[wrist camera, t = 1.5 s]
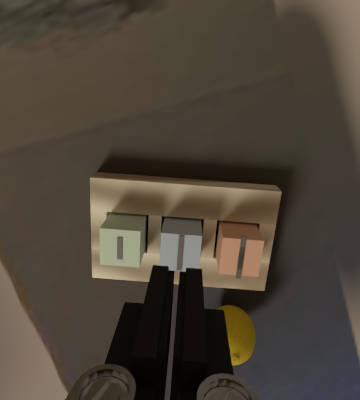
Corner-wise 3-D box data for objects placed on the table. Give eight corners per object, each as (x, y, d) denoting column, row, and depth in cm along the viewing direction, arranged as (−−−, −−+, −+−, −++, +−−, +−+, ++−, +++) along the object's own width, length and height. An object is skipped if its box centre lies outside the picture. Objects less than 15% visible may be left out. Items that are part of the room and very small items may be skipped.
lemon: (245, 289, 39) (258, 335, 32) (251, 325, 41) (264, 377, 33) (201, 295, 40) (203, 342, 32) (209, 331, 42) (212, 383, 34)
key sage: (110, 212, 35) (99, 228, 31) (146, 215, 35) (140, 231, 31) (110, 245, 36) (99, 265, 32) (145, 247, 36) (139, 268, 32)
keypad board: (96, 172, 35) (89, 177, 33) (275, 185, 35) (281, 191, 33) (98, 266, 39) (92, 277, 37) (259, 279, 39) (264, 291, 36)
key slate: (164, 216, 35) (160, 233, 31) (201, 219, 35) (202, 236, 30) (163, 249, 36) (159, 269, 32) (197, 251, 36) (198, 272, 32)
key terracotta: (219, 218, 35) (223, 235, 30) (256, 220, 35) (265, 238, 30) (215, 255, 36) (218, 277, 32) (250, 258, 36) (258, 280, 32)
